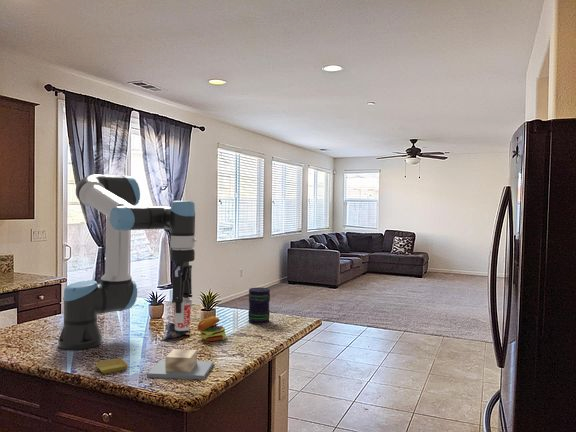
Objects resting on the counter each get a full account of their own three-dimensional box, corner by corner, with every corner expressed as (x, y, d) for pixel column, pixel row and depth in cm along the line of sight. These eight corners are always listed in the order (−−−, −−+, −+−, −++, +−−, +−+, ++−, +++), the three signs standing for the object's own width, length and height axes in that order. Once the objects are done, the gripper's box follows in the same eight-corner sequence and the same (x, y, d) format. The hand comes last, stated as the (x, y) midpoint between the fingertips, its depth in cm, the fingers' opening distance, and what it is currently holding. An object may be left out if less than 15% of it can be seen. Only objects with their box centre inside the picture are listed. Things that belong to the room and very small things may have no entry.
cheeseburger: (222, 343, 182) (216, 318, 182) (196, 347, 184) (191, 322, 184) (230, 335, 191) (224, 311, 191) (206, 339, 194) (200, 316, 194)
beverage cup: (174, 332, 147) (174, 287, 147) (170, 327, 153) (171, 284, 152) (193, 330, 149) (194, 286, 149) (189, 325, 155) (190, 283, 155)
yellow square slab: (128, 371, 151) (128, 365, 151) (100, 376, 146) (100, 370, 146) (121, 363, 158) (121, 357, 158) (94, 368, 153) (94, 362, 153)
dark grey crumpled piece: (154, 336, 191) (164, 342, 182) (156, 319, 192) (167, 325, 182) (182, 336, 198) (193, 343, 189) (184, 321, 199) (196, 326, 189)
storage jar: (245, 320, 218) (245, 288, 218) (264, 318, 222) (265, 286, 222) (252, 325, 209) (253, 292, 209) (272, 323, 213) (273, 290, 213)
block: (165, 371, 148) (165, 357, 147) (173, 362, 156) (173, 349, 155) (190, 372, 147) (190, 357, 147) (196, 363, 155) (197, 349, 155)
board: (146, 377, 145) (147, 373, 145) (160, 362, 158) (160, 359, 158) (204, 379, 144) (204, 375, 144) (213, 364, 157) (213, 361, 157)
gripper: (185, 251, 141) (185, 328, 141) (201, 246, 160) (200, 313, 160) (161, 251, 141) (160, 327, 142) (179, 245, 160) (179, 312, 161)
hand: (182, 320), depth 151 cm, fingers closed on beverage cup, 6 cm apart
